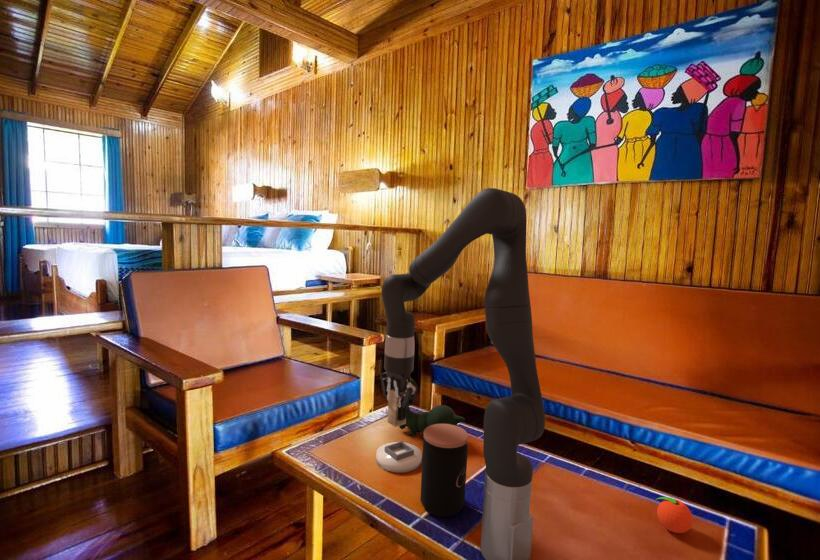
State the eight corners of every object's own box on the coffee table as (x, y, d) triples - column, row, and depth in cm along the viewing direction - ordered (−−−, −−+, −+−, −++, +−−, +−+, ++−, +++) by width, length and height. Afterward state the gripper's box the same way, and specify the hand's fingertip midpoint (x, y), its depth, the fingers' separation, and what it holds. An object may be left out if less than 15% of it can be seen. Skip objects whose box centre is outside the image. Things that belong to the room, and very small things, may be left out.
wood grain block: (405, 423, 112) (407, 390, 111) (395, 427, 110) (396, 393, 109) (398, 418, 115) (399, 386, 113) (387, 421, 113) (388, 388, 111)
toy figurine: (388, 437, 141) (460, 452, 128) (385, 379, 139) (458, 389, 127) (402, 426, 149) (471, 439, 137) (400, 372, 147) (469, 380, 135)
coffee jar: (462, 522, 99) (466, 447, 96) (416, 514, 101) (419, 440, 98) (465, 494, 109) (469, 426, 107) (424, 487, 111) (427, 421, 109)
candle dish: (430, 463, 123) (431, 451, 122) (393, 477, 115) (393, 465, 114) (403, 444, 133) (404, 433, 133) (367, 456, 125) (367, 444, 125)
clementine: (646, 526, 100) (649, 497, 99) (655, 513, 105) (659, 485, 104) (686, 545, 94) (690, 515, 93) (694, 530, 99) (698, 501, 98)
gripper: (428, 357, 107) (425, 423, 109) (395, 343, 118) (392, 404, 120) (404, 362, 102) (401, 431, 104) (371, 347, 113) (369, 410, 115)
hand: (396, 416), depth 112 cm, fingers closed on wood grain block, 3 cm apart
